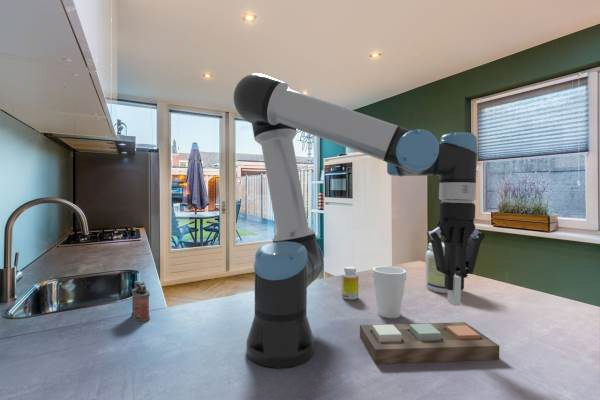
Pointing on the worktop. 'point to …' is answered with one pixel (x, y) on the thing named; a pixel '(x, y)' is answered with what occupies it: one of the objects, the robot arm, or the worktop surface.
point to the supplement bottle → (349, 283)
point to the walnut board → (428, 346)
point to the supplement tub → (434, 273)
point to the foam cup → (389, 290)
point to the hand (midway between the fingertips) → (453, 303)
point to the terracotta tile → (462, 332)
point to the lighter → (140, 303)
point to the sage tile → (424, 332)
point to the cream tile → (386, 333)
